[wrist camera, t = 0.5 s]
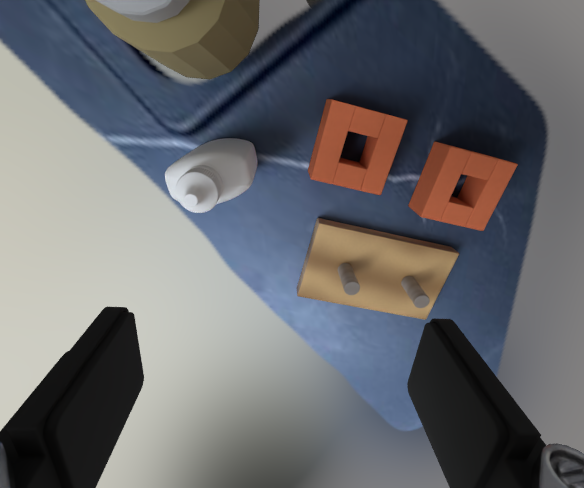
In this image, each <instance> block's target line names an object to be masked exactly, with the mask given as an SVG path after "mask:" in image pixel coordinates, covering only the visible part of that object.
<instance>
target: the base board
mask: <svg viewBox="0 0 584 488" xmlns="http://www.w3.org/2000/svg"><path fill="white" fill-rule="evenodd" d="M458 255H459V253H458V252H457V251H456V250H454V249H453V248H452V247H449V246H444V245H440V244H435V243H431V242H426V241H422V240H417V239H412V238H408V237H403V236H399V235H394V234H390V233H385V232H380V231H376V230H371V229H367V228H362V227H358V226H353V225H348V224H344V223H339V222H335V221H330V220H326V219H321V218H317V220H316V224H315V227H314V231H313V234H312V238H311V241H310V244H309V248H308V251H307V255H306V258H305V262H304V265H303V268H302V272H301V275H300V279H299V282H298V286H297V295H298V296H300V297H305V298H311V299H316V300H322V301H327V302H332V303H338V304H343V305H349V306H354V307H360V308H365V309H371V310H376V311H381V312H387V313H392V314H398V315H403V316H409V317H414V318H419V319H425V320H426V318H427V316H428V314H429V312H430V310H431V308H432V306H433V304H434V302H435V301H436V299H437V297H438V295H439V293H440V291H441V289H442V287H443V285H444V283H445V281H446V279H447V277H448V275H449V273H450V271H451V269H452V267H453V265H454V263H455V261H456V259H457V257H458Z"/></svg>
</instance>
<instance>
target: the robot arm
mask: <svg viewBox="0 0 584 488" xmlns="http://www.w3.org/2000/svg"><path fill="white" fill-rule="evenodd" d="M143 381H144V375H143V368H142V362H141V356H140V350H139V343H138V337H137V330H136V324H135V318H134V314H133V313H131V312H129V311H128V309H127V308H125V307H105V308H104V309H103V310H102V311H101V313H100V314H99V315H98V316H97V318H96V319H95V320H94V321H93V323H92V324H91V325H90V326H89V327H88V329H87V330H86V331H85V333H84V334H83V335H82V336H81V337H80V339H79V340H78V341H77V342H76V344H75V345H74V346H73V347H72V348H71V350H70V351H68V352H66V353H65V354H64V355H63V356H62V357H61V358H60V360H59V361H58V362H57V363H56V364H55V366H54V367H53V368H52V369H51V370H50V372H49V373H48V374H47V375H46V377H45V378H44V379H43V380H42V381H41V383H40V384H39V385H38V386H37V388H36V389H35V390H34V391H33V392H32V394H31V395H30V396H29V397H28V398H27V400H26V401H25V402H24V403H23V405H22V406H21V407H20V408H19V410H18V411H17V412H16V413H15V414H14V415H13V417H12V418H11V419H10V420H9V422H8V423H7V424H6V425H5V426H4V428H3V429H2V430H1V431H0V488H96V486H97V483H98V481H99V479H100V477H101V475H102V473H103V470H104V468H105V466H106V464H107V462H108V460H109V457H110V455H111V453H112V451H113V449H114V446H115V445H116V442H117V440H118V438H119V436H120V434H121V431H122V429H123V427H124V425H125V423H126V421H127V418H128V417H129V414H130V412H131V410H132V408H133V406H134V404H135V401H136V399H137V397H138V395H139V393H140V391H141V388H142V385H143ZM408 392H409V395H410V397H411V400H412V402H413V404H414V406H415V409H416V411H417V413H418V416H419V418H420V420H421V423H422V425H423V427H424V429H425V432H426V434H427V436H428V439H429V441H430V443H431V445H432V448H433V450H434V452H435V455H436V457H437V459H438V462H439V464H440V466H441V468H442V471H443V473H444V475H445V478H446V480H447V482H448V484H449V487H450V488H584V454H583V453H582V452H580V451H578V450H576V449H574V448H571V447H569V446H566V445H562V444H549V445H547V446H546V444H545V443H544V442H543V441H542V439H541V438H540V436H541V434H540V433H539V432H538V430H537V429H536V428H535V426H534V425H533V424H532V423H531V421H530V420H529V419H528V418H527V416H526V415H525V413H524V412H523V411H522V410H521V408H520V407H519V406H518V405H517V403H516V402H515V401H514V399H513V398H512V397H511V395H510V394H509V393H508V391H507V390H506V389H505V388H504V386H503V385H502V384H501V382H500V381H499V380H498V378H497V377H496V376H495V374H494V373H493V372H492V371H491V369H490V368H489V367H488V365H487V364H486V363H485V361H484V360H483V359H482V358H481V356H480V355H479V354H478V352H477V351H476V350H475V349H474V347H473V346H472V345H471V343H470V342H469V341H468V339H467V338H466V337H465V336H464V334H463V333H462V332H461V330H460V329H459V328H458V326H457V325H456V324H455V323H454V321H453V320H451V319H432V320H431V321H430V323H427V324H426V325H425V327H424V330H423V334H422V337H421V340H420V343H419V347H418V350H417V353H416V357H415V360H414V363H413V367H412V370H411V373H410V376H409V380H408Z"/></svg>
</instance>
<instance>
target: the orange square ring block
mask: <svg viewBox="0 0 584 488" xmlns="http://www.w3.org/2000/svg"><path fill="white" fill-rule="evenodd" d="M517 165H518V164H516V163H513V162H509V161H506V160H503V159H499V158H496V157H492V156H488V155H484V154H481V153H477V152H473V151H469V150H466V149H462V148H458V147H454V146H450V145H447V144H443V143H439V142H434V144H433V146H432V149H431V151H430V154H429V156H428V159H427V161H426V164H425V166H424V168H423V171H422V173H421V176H420V178H419V181H418V183H417V186H416V188H415V191H414V193H413V195H412V198H411V200H410V203H409V205H408V206H409V207H410V208H411V209H412V210H414V211H415V212H416V213H417V214H418V215H419V216H420V217H423V218H428V219H432V220H437V221H441V222H445V223H450V224H454V225H458V226H463V227H467V228H472V229H476V230H480V231H483V230H484V228H485V226H486V224H487V222H488V221H489V219H490V217H491V215H492V213H493V211H494V209H495V207H496V205H497V203H498V201H499V200H500V198H501V196H502V194H503V192H504V190H505V188H506V186H507V184H508V182H509V180H510V179H511V177H512V175H513V173H514V171H515V169H516V167H517ZM461 174H464V175H468V176H467V178H466V180H465V182H464V184H463V186H462V189H461V191H460V193H459V195H458V197H457V198H455V197H451V195H452V193H453V191H454V188H455V186H456V184H457V182H458V180H459V178H460V175H461Z"/></svg>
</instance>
